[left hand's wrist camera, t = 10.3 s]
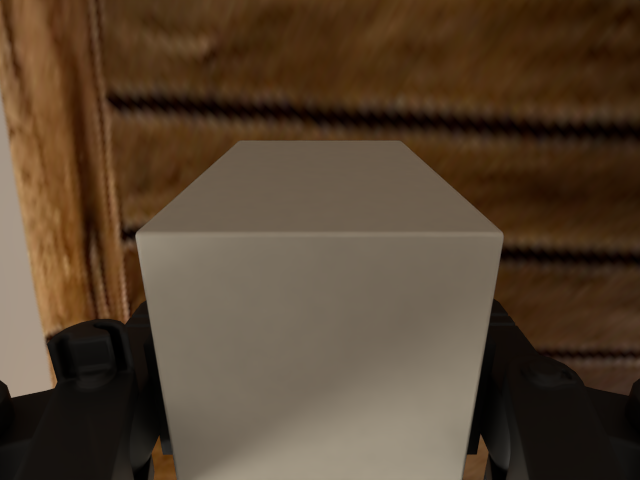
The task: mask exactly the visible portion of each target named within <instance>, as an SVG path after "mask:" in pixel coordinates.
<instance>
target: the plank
mask: <svg viewBox="0 0 640 480" xmlns="http://www.w3.org/2000/svg"><path fill="white" fill-rule="evenodd" d="M503 237H504V236H503V232H502V231H501V230H499V229H498V228H497V227H496V226H495V225H494V224H493V223H492V222H490V221H489V220H488V219H487V218H486V217H485V216H484V215H483V214H482V213H480V212H479V211H478V210H477V209H476V208H475V207H474V206H473V205H472V204H470V203H469V202H468V201H467V200H466V199H465V198H464V197H463V196H461V195H460V194H459V193H458V192H457V191H456V190H455V189H454V188H453V187H451V186H450V185H449V184H448V183H447V182H446V181H445V180H444V179H442V178H441V177H440V176H439V175H438V174H437V173H436V172H435V171H434V170H432V169H431V168H430V167H429V166H428V165H427V164H426V163H425V162H424V161H422V160H421V159H420V158H419V157H418V156H417V155H416V154H415V153H413V152H412V151H411V150H410V149H409V148H408V147H407V146H406V145H405V144H403V143H402V142H401V141H239V142H238V143H237V144H235V145H234V146H233V147H232V148H231V149H230V150H229V151H228V152H226V153H225V154H224V155H223V156H222V157H221V158H220V159H219V160H217V161H216V162H215V163H214V164H213V165H212V166H211V167H210V168H208V169H207V170H206V171H205V172H204V173H203V174H202V175H201V176H199V177H198V178H197V179H196V180H195V181H194V182H193V183H192V184H190V185H189V186H188V187H187V188H186V189H185V190H184V191H183V192H181V193H180V194H179V195H178V196H177V197H176V198H175V199H174V200H172V201H171V202H170V203H169V204H168V205H167V206H166V207H165V208H163V209H162V210H161V211H160V212H159V213H158V214H157V215H156V216H154V217H153V218H152V219H151V220H150V221H149V222H148V223H147V224H145V225H144V226H143V227H142V228H141V229H140V230H139V231H138V232H137V233H136V242H137V248H138V253H139V259H140V265H141V271H142V277H143V283H144V289H145V294H146V300H147V306H148V312H149V318H150V324H151V330H152V336H153V341H154V347H155V353H156V359H157V365H158V371H159V377H160V382H161V388H162V394H163V400H164V406H165V412H166V418H167V423H168V429H169V435H170V441H171V447H172V453H173V459H174V465H175V470H176V476H177V480H462V479H463V473H464V467H465V461H466V456H467V450H468V444H469V438H470V432H471V426H472V420H473V414H474V408H475V403H476V397H477V391H478V385H479V379H480V373H481V367H482V361H483V355H484V349H485V344H486V338H487V332H488V326H489V320H490V314H491V308H492V302H493V296H494V290H495V285H496V279H497V273H498V267H499V261H500V255H501V249H502V243H503Z"/></svg>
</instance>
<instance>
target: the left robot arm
mask: <svg viewBox="0 0 640 480" xmlns="http://www.w3.org/2000/svg"><path fill="white" fill-rule="evenodd" d="M47 346H48V350H49V353H50V357H51V360H52V364H53V367H54V371H55V375H56V378H57V384H56V386H55V388H54V389H50V390H47V391H42V392H37V393H33V394H28V395H23V396H18V397H13V398H11V396H10V393H9V390H8V387H7V385H6V384H4V383H3V382H2V381H0V480H153V479H154V465H153V459H152V454H151V453H152V450H153V448H154V446H155V443H156V441H157V439H158V437H159V435H160V441H161V446H162V452H163V455H165V454H173V453H172V447H171V441H170V435H169V429H168V423H167V418H166V412H165V406H164V400H163V394H162V388H161V382H160V377H159V371H158V365H157V359H156V353H155V347H154V341H153V336H152V330H151V324H150V318H149V312H148V306H147V300H146V301H145V302H143V303H141V304H140V306H139V307H138V308H137V310H136V311H135V312H134V314H133V315H132V318H130V319H129V320H128V321H127V323H126V324H125V325H124V324H123V323H122V322H121V321H117V320H112V319H95V320H91V321H86V322H81V323H79V324H76V325H73V326H71V327H68V328H66V329H64V330H63V331H61V332H60V333H58V334H56V335H55V336H54V337H53V338H52V339H51V340H50V341H49V342H48V343H47ZM480 433H481V435H482V437H483V440H484V442H485V444H486V446H487V449H488V451H489V454H488V459H487V465H486V470H485V475H484V480H640V379H638V380H637V381H636V382H635V383H633V386H632V389H631V392H630V395H629V396H626V395H621V394H617V393H612V392H607V391H602V390H597V389H593V388H589V387H586V386H584V383H583V381H582V380H581V379H580V377H579V376H578V375H577V373H576V372H575V371H573V370H572V369H570V368H569V367H568V366H566V365H565V364H563V363H561V362H559V361H557V360H554V359H552V358H549V357H545V356H541V355H539V354H538V353H537V351H536V350H535V349H534V347H533V346H532V345H531V343H530V342H529V341H528V340H527V338H526V337H525V336H524V334H523V333H522V332H521V330H520V329H519V328H518V326H515V323H514V321H513V320H512V319H511V317H510V316H508V313H507V312H506V311H505V310H504V308H503V307H502V306H501V304H500V303H499V302H498V301H496V300H495V299H493V302H492V308H491V314H490V320H489V326H488V332H487V338H486V344H485V349H484V355H483V361H482V367H481V373H480V379H479V385H478V391H477V397H476V403H475V408H474V414H473V420H472V426H471V432H470V438H469V444H468V450H467V454H477V450H478V444H479V439H480Z"/></svg>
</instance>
